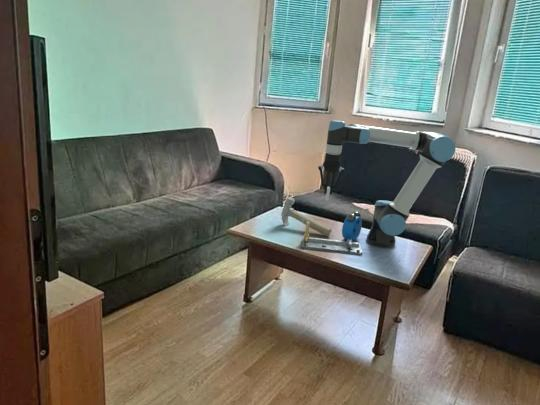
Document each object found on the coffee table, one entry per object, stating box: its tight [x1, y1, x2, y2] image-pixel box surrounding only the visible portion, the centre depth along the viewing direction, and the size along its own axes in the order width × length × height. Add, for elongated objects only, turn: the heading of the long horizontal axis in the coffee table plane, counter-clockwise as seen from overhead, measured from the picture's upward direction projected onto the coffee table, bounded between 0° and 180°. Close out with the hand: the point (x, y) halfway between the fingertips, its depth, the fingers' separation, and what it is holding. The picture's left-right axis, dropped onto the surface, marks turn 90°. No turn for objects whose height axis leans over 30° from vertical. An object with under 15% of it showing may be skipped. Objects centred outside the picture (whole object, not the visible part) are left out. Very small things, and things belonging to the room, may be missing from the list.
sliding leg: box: [303, 222, 310, 244], centre depth 225 cm, size 2×8×10 cm, turn 175°
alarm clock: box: [341, 211, 363, 242], centre depth 237 cm, size 13×6×15 cm, turn 146°
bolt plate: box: [301, 237, 363, 256], centre depth 225 cm, size 30×11×2 cm, turn 85°
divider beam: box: [309, 236, 360, 249], centre depth 225 cm, size 28×8×3 cm, turn 85°
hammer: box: [280, 196, 332, 238], centre depth 246 cm, size 16×5×30 cm
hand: (326, 200), depth 219 cm, fingers closed
